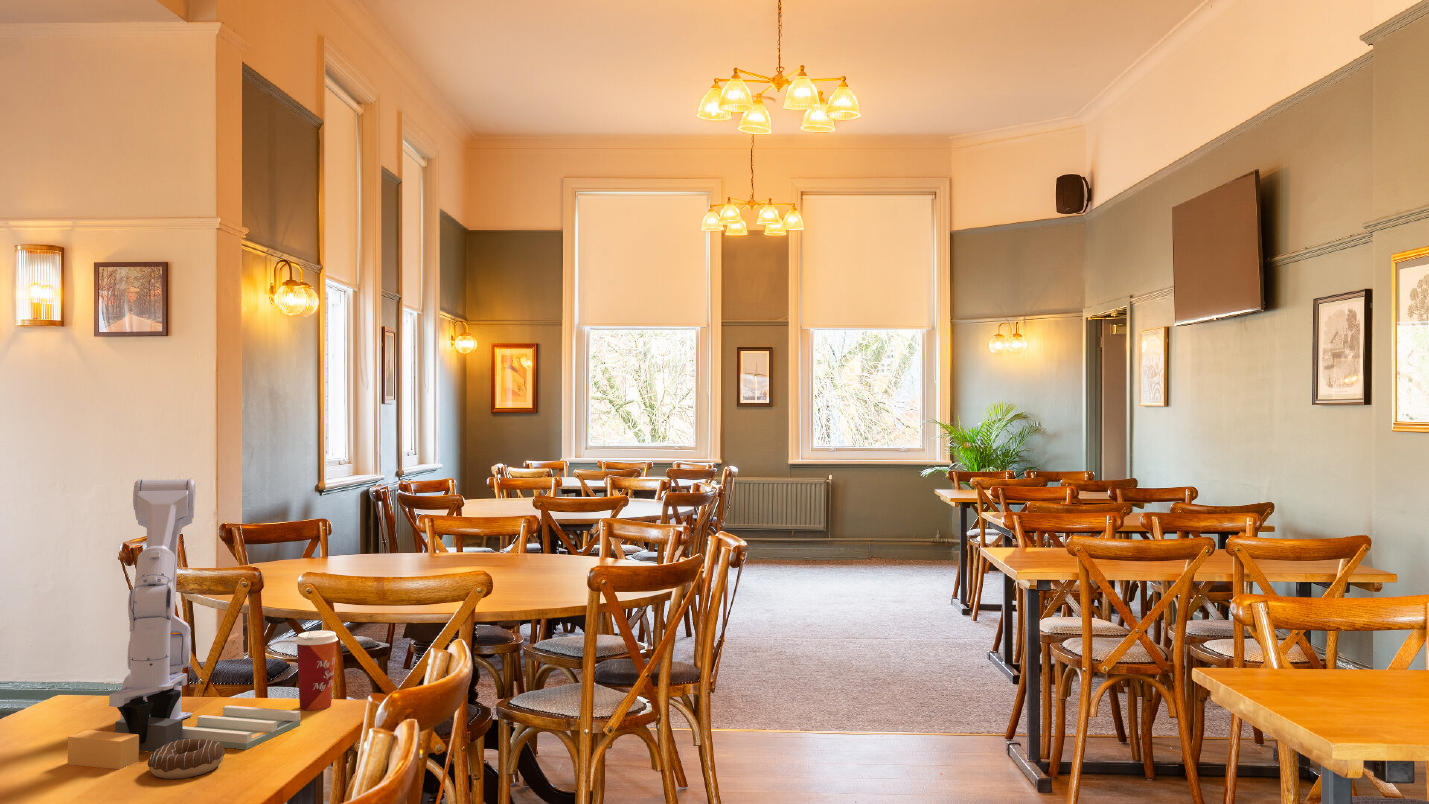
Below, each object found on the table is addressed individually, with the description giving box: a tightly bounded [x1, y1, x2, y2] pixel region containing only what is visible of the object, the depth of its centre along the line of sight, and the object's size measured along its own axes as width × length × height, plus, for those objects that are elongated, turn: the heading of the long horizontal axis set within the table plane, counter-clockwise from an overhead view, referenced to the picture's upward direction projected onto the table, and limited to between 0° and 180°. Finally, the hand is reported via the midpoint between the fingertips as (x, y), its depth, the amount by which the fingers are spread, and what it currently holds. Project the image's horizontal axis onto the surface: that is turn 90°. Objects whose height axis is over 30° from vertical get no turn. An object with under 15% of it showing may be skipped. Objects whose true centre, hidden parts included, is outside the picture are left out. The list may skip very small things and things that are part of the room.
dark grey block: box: [114, 717, 184, 753], centre depth 163 cm, size 10×4×4 cm, turn 77°
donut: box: [147, 739, 226, 780], centre depth 153 cm, size 11×11×4 cm
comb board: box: [182, 704, 301, 750], centre depth 171 cm, size 15×14×2 cm
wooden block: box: [66, 729, 140, 770], centre depth 156 cm, size 10×4×4 cm, turn 77°
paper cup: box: [294, 629, 339, 712], centre depth 188 cm, size 8×8×14 cm
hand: (148, 738), depth 163 cm, fingers closed on dark grey block, 4 cm apart
